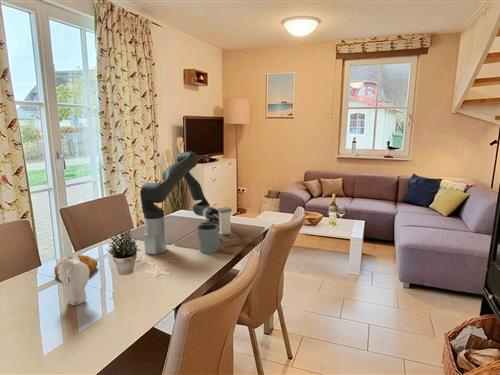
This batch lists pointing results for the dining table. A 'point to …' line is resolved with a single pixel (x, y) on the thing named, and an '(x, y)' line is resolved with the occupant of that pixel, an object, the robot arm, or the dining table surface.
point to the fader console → (228, 239)
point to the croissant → (85, 259)
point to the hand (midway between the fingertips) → (223, 221)
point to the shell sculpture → (74, 279)
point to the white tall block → (224, 221)
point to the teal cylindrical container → (208, 238)
